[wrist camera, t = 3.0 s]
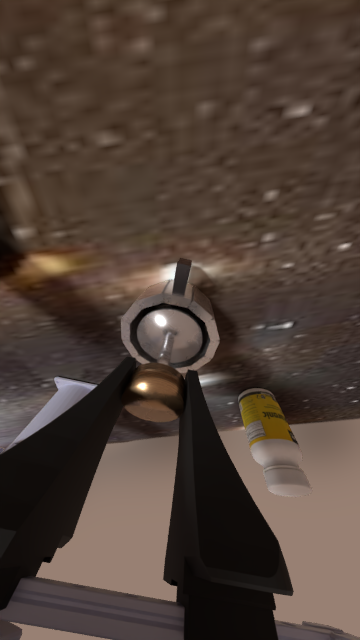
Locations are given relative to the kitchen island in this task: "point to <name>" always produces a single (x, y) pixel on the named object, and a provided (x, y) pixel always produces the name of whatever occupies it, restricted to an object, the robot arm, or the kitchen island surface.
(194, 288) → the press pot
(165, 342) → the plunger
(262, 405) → the supplement bottle
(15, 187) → the kitchen island surface
